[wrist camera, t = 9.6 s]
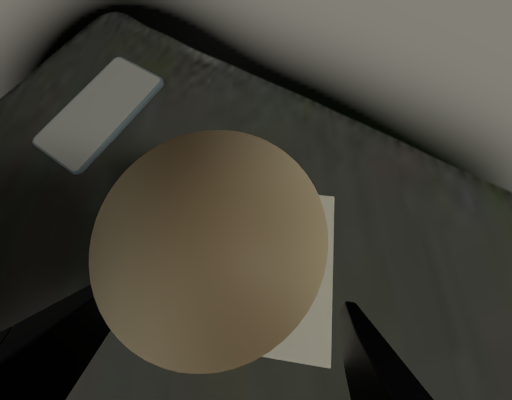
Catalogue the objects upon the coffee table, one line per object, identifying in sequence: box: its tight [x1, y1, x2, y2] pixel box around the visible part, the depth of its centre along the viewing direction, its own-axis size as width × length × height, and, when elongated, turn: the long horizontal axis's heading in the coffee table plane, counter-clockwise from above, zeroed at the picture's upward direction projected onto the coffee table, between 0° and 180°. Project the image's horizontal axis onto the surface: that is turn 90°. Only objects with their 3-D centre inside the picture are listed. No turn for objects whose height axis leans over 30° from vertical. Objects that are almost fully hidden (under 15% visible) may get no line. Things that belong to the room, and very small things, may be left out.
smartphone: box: [32, 57, 164, 175], centre depth 27 cm, size 8×1×15 cm
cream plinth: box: [261, 195, 334, 369], centre depth 19 cm, size 12×12×3 cm
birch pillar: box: [89, 130, 328, 374], centre depth 11 cm, size 5×5×13 cm
